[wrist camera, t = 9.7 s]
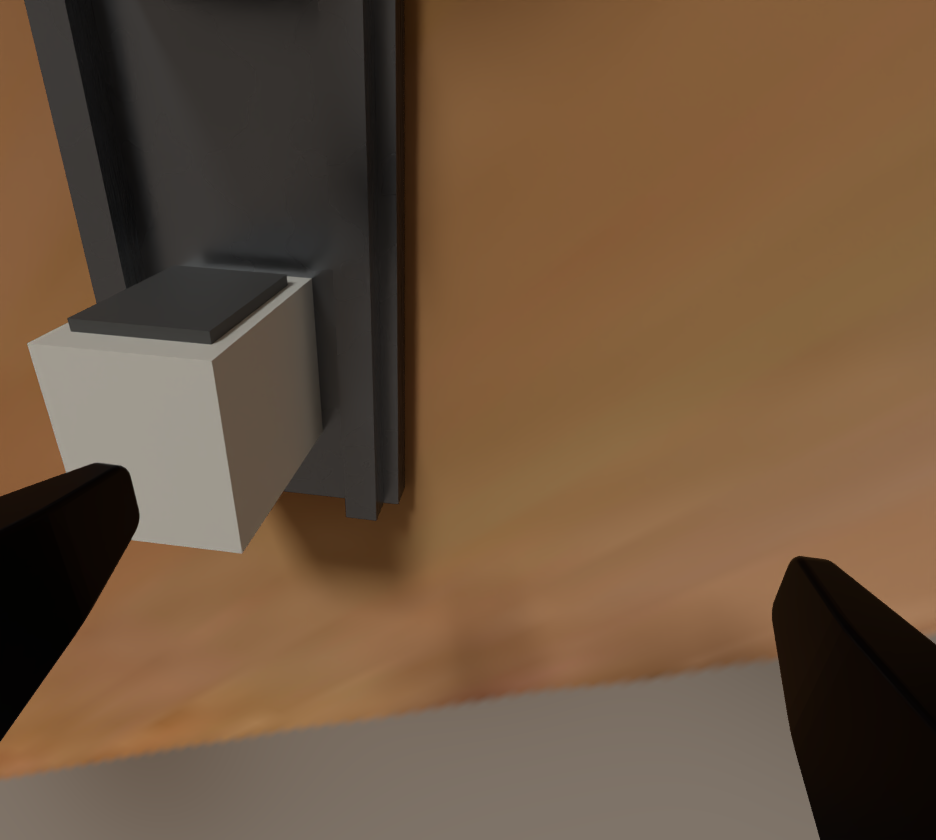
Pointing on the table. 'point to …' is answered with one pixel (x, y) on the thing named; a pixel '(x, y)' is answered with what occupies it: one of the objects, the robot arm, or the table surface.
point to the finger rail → (252, 180)
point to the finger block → (190, 397)
